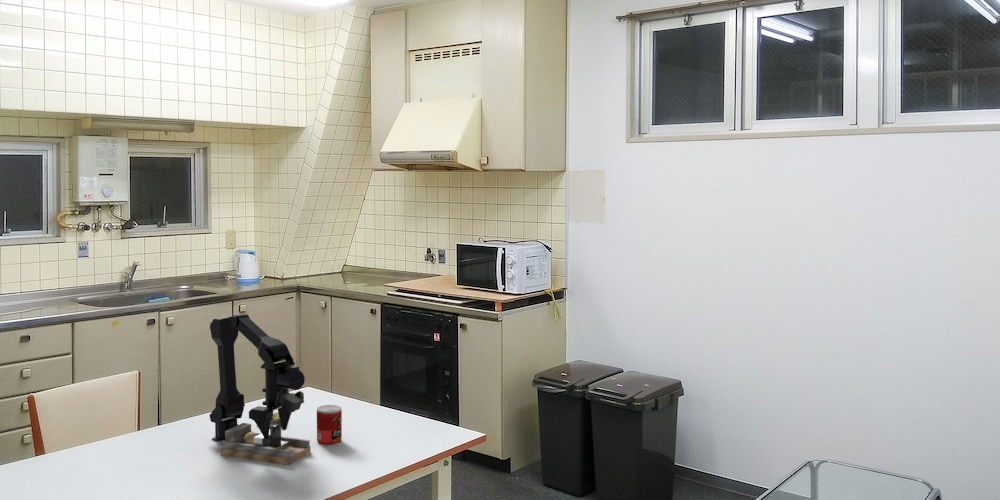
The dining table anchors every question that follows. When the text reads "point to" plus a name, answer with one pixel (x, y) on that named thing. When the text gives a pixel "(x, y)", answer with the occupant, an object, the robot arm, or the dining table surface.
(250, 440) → the tan rounded piece
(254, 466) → the dining table surface
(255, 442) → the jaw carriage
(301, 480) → the dining table surface
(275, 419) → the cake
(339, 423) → the canned food
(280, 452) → the press base
